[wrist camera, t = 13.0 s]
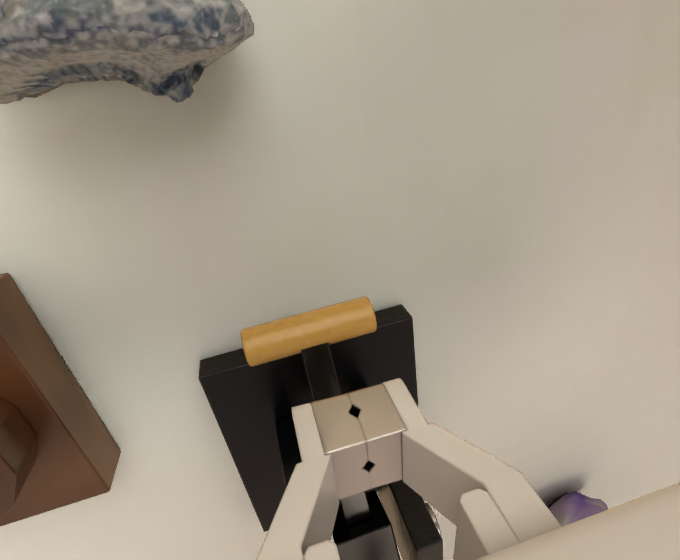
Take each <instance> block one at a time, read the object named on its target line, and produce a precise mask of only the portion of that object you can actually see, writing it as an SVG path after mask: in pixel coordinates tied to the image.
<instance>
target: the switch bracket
mask: <svg viewBox="0 0 680 560" xmlns="http://www.w3.org/2000/svg"><path fill="white" fill-rule="evenodd" d="M374 313H375V316H376V322H377V329H376V331H375V332H372V333H369V334H365V335H362V336H358V337H355V338H351V339H348V340H344V341H341V342H337V343H334V344H330V345H329V346H330V350H331V354H332V358H333V362H334V366H335V370H336V374H337V377H338V381H339V385H340V389H341V393H342V394H346V393H348V392H351V391H355V390H358V389H362V388H365V387H369V386H372V385H376V384H379V383H381V384H382V383H383V382H387V381H390V380H394V379H397V378H400V379H401V380H402V381H403V382H404V384H405V386H406V387H407V389H408V391H409V393H410V394H411V396H412V398H413V399H414V401H415V403H416V404H417V406H418V397H417V382H416V366H415V351H414V335H413V319H412V316H411V315H410V314H409V313H408V311H407V310H406V309H405V308H404V307H403V305H398V306H394V307H391V308H387V309H384V310H380V311H376V312H374ZM199 380H200V382H201V385H202V387H203V389H204V392H205V394H206V396H207V399H208V401H209V403H210V406H211V408H212V411H213V413H214V415H215V418H216V420H217V422H218V425H219V427H220V429H221V432H222V434H223V436H224V439H225V441H226V443H227V446H228V448H229V450H230V453H231V455H232V458H233V460H234V462H235V465H236V467H237V469H238V472H239V474H240V476H241V479H242V481H243V483H244V486H245V488H246V490H247V493H248V495H249V498H250V500H251V502H252V505H253V507H254V509H255V512H256V514H257V516H258V519H259V521H260V523H261V526H262V528H263V530H264V532H265V531H268V530H269V528H270V526H271V523H272V521H273V518H274V516H275V514H276V511H277V509H278V507H279V504H280V502H281V499H282V497H283V495H284V492H285V490H286V487H287V485H288V483H289V480H290V478H291V475H292V473H293V471H294V468H295V466H296V464H298V463H301V462H302V460H301V455H300V450H299V445H298V441H297V436H296V431H295V426H294V421H293V416H292V408H291V407H295V406H299V405H303V404H307V403H310V404H311V402H313V400H312V396H311V392H310V388H309V384H308V380H307V376H306V372H305V368H304V365H303V361H302V357H301V353H299V354H295V355H292V356H288V357H285V358H281V359H278V360H274V361H271V362H267V363H264V364H260V365H256V366H253V367H251V366H249V364H248V362H247V360H246V357H245V353H244V350H243V349H239V350H235V351H232V352H228V353H224V354H221V355H217V356H214V357H210V358H206V359H203V360H201V361H200V370H199ZM372 490H375V491H376V492H377V493H378V495H379V498H380V501H381V503H382V505H383V508H384V510H385V512H386V514H387V516H388V518H389V520H390V522H391V524H392V528H393V532H394V536H395V540H396V543H397V546H398V548H399V551H400V554H401V556H402V559H403V560H443V540H442V537H441V531H440V527H439V524H438V521H437V519H436V516H435V514H434V512H433V510H432V508H431V507H430V505H429V504H428V503H425V502H424V500H423V498H422V497H421V496H420V495H419V494H418V493H416V492H415V491H414V490H413V489H412V488H410V487H409V486H408V485H407V484H406V483H404V482H403V480H399V481H396V482H392V483H389V484H386V485H382V486H379V487H375V488H372V489H369V490H366V493H367V492H369V491H372Z"/></svg>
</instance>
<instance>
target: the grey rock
mask: <svg viewBox="0 0 680 560" xmlns="http://www.w3.org/2000/svg"><path fill="white" fill-rule="evenodd" d="M252 35H254V23H253V22H252V20H251V16H250V14H249V12H248V10H247V9H246V7H245V6H244V5H243V3H242V2H241V1H240V0H0V104H8V103H11V102H14V101H20V100H22V99H23V98H25V97H34V98H36V97H38V96H40V95H42V94H45V93H47V92H49V91H51V90H53V89H55V88H57V87H59V86H61V85H63V84H65V83H67V82H69V83H77V82H89V81H98V80H100V79H102V80H106V81H110V80H122V81H126V82H128V83H129V84H133V85H136V86H138V87H141V88H142V89H143V90H144V91H147V92H151V93H152V94H154V95H158V96H169V97H170V98H171V99H172V100H174V101H176V102H182V101H183V100H185V99H186V98H189V97H191V95H192V93H193V88H192V85H193V84H194V83H196V82H197V81H199V79H200V76H201V74H202V72H203V70H204V68H205V67H207V66H208V65H209V64H211V63H212V62H213V61H215V60H217V59H218V58H220V57H221V56H222V55H224V54H226V53H228V52H230V51H231V50H233V49H234V48H236V47H237V46H238V45H239V44H240V43H241V42H243V41H244V40H246V39H247V38H249V37H251V36H252Z"/></svg>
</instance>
